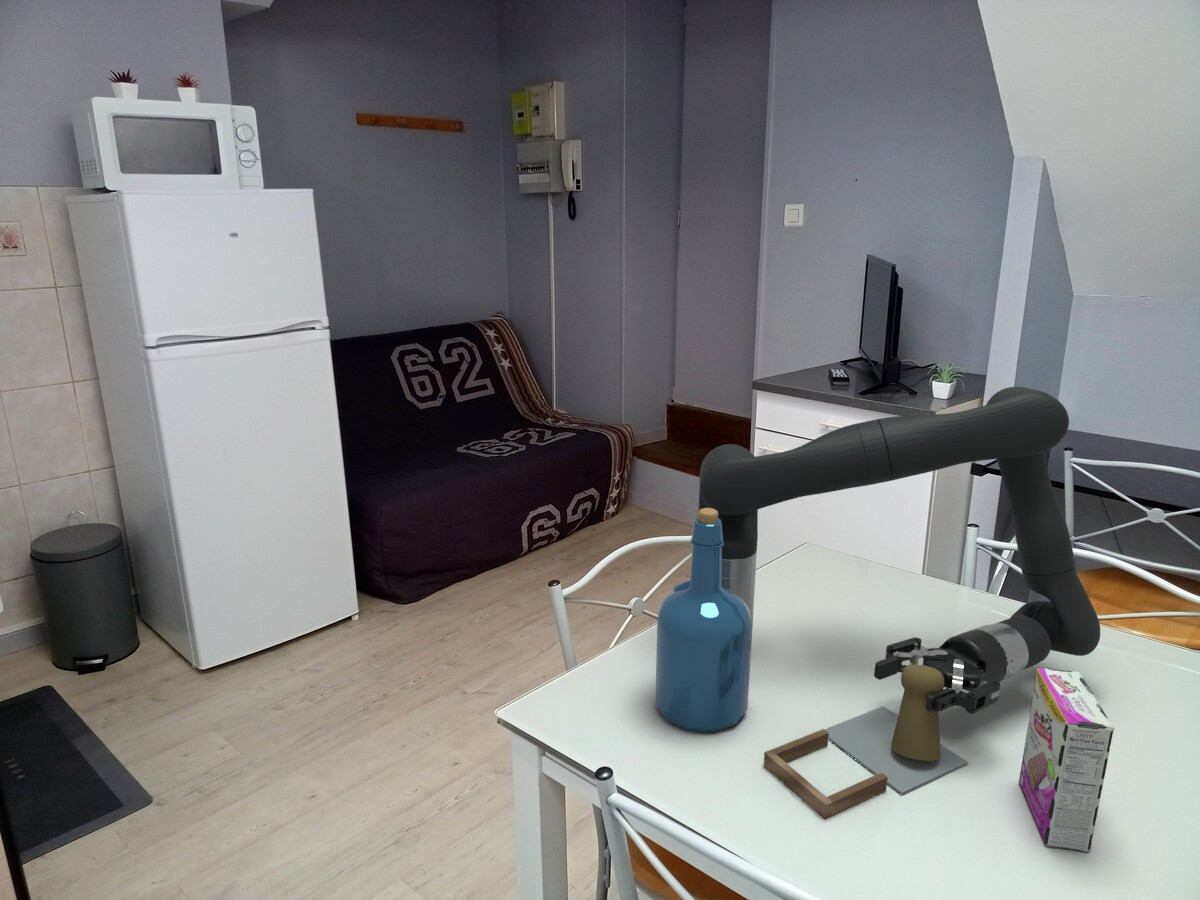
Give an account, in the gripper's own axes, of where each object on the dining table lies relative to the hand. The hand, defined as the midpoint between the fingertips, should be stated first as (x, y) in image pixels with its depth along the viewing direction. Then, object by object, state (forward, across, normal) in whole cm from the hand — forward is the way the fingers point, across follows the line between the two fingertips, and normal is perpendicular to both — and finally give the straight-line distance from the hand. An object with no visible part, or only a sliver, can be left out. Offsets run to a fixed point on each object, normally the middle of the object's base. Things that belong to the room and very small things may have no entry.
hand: (901, 688), depth 106 cm
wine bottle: (+17, -20, +9) cm, 28 cm away
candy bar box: (-6, +18, +9) cm, 21 cm away
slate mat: (0, 0, +9) cm, 9 cm away
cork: (0, +3, +8) cm, 8 cm away
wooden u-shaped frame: (+12, 0, +9) cm, 15 cm away
